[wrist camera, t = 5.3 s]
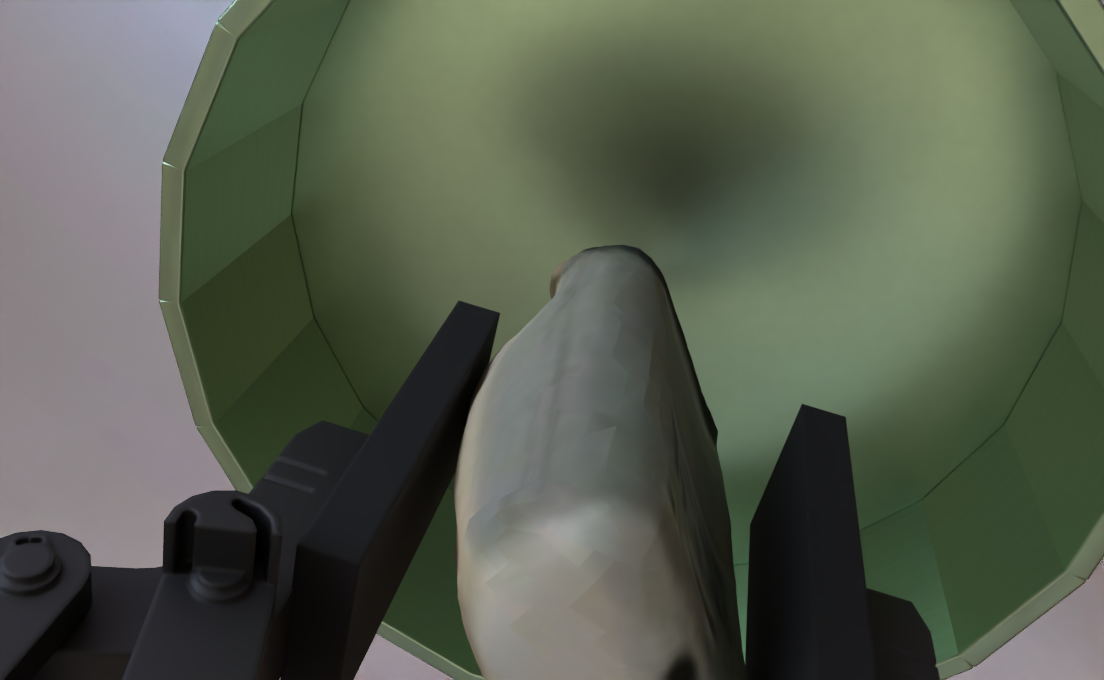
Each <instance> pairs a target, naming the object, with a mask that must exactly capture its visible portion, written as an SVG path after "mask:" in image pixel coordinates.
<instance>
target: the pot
mask: <svg viewBox="0 0 1104 680" xmlns="http://www.w3.org/2000/svg"><path fill="white" fill-rule="evenodd" d="M610 245H627V246H632V247H636V248H639V249H641V250H642V251H643V252H644V253H646V254H647V255H648V256H649V257H651V258H652V260H653V261H654V262H655V264H656V265H657V266H658V268H659V269H660V270H661V272H662V274H663V276H664V278H665V281H666V283H667V286H668V289H669V292H670V295H671V298H672V301H673V304H674V308H675V311H676V313H677V315H678V319H679V322H680V324H681V327H682V330H683V333H684V336H685V339H686V343H687V347H688V350H689V352H690V355H691V358H692V361H693V365H694V368H695V371H696V374H697V378H698V381H699V384H700V387H701V391H702V394H703V396H704V398H705V401H706V404H707V406H708V408H709V410H710V412H711V415H712V417H713V420H714V423H715V425H716V427H717V430H718V438H717V452H718V456H719V461H720V466H721V469H722V474H723V480H724V487H725V494H726V500H727V505H728V510H729V515H730V520H731V540H732V552H733V563H734V574H735V580H736V594H737V606H738V615H739V623H740V631H741V639H742V651H743V656H744V662H745V654H746V625H747V597H748V568H749V539H750V523H751V521H752V518H753V516H754V514H755V512H756V509H757V507H758V505H759V502H760V500H761V498H762V495H763V493H764V491H765V488H766V486H767V484H768V481H769V479H770V477H771V474H772V472H773V470H774V467H775V465H776V463H777V460H778V458H779V456H780V453H781V451H782V449H783V446H784V444H785V442H786V439H787V437H788V435H789V432H790V430H791V428H792V425H793V423H794V421H795V418H796V416H797V414H798V412H799V409H800V407H801V405H802V404H805V405H808V406H811V407H815V408H818V409H821V410H825V411H828V412H831V413H835V414H838V415H841V416H845V417H846V423H847V432H848V440H849V448H850V456H851V465H852V473H853V481H854V490H855V498H856V506H857V514H858V523H859V531H860V539H861V548H862V556H863V564H864V572H865V581H866V588H869V589H872V590H876V591H879V592H882V593H885V594H888V595H892V596H895V597H898V598H901V599H904V600H908V601H911V602H912V603H913V605H914V606H915V608H916V609H917V611H918V613H919V614H920V616H921V617H922V619H923V621H924V622H925V624H926V625H927V627H928V628H929V630H930V632H931V636H932V641H933V646H934V651H935V656H936V661H937V662H936V665H935V666H936V667H937V668H938V672H939V677H940V680H945V679H947V678H950V677H952V676H955V675H957V674H960V673H962V672H965V671H967V670H970V669H972V668H973V666H974V667H975V666H977V665H978V664H980V663H981V662H982V661H984V660H985V659H986V658H988V657H989V656H990V655H991V654H993V653H994V652H995V651H997V650H998V649H999V648H1001V647H1002V646H1003V645H1004V644H1006V643H1007V642H1008V641H1010V640H1011V639H1012V638H1014V637H1015V636H1016V635H1017V634H1019V633H1020V632H1021V631H1023V630H1024V629H1025V628H1027V627H1028V626H1029V625H1030V624H1032V623H1033V622H1034V621H1036V620H1037V619H1038V618H1040V617H1041V616H1042V615H1043V614H1045V613H1046V612H1047V611H1049V610H1050V609H1051V608H1053V607H1054V606H1055V605H1056V604H1058V603H1059V602H1060V601H1062V600H1063V599H1064V598H1065V597H1067V596H1068V595H1069V594H1071V593H1072V592H1073V591H1075V590H1076V589H1077V588H1078V587H1080V586H1081V585H1082V584H1084V583H1085V581H1086V580H1087V579H1089V577H1090V576H1091V574H1092V573H1093V571H1094V570H1095V568H1096V567H1097V566H1098V564H1099V563H1100V561H1101V560H1102V558H1103V557H1104V5H1103V3H1102V2H1101V0H234V1H233V3H232V4H231V5H230V6H229V7H228V8H227V9H226V10H225V11H224V13H223V14H222V15H221V16H220V17H219V19H218V21H217V22H216V24H215V26H214V29H213V31H212V34H211V36H210V39H209V42H208V44H207V47H206V49H205V52H204V55H203V57H202V60H201V62H200V65H199V67H198V70H197V73H196V75H195V78H194V80H193V83H192V86H191V88H190V91H189V93H188V96H187V98H186V101H185V104H184V106H183V109H182V111H181V114H180V117H179V119H178V122H177V124H176V127H175V129H174V132H173V135H172V137H171V140H170V142H169V145H168V148H167V150H166V153H165V155H164V158H163V163H162V191H161V229H160V268H159V299H160V301H159V303H160V306H161V310H162V313H163V317H164V320H165V323H166V327H167V330H168V334H169V337H170V340H171V344H172V347H173V351H174V354H175V357H176V361H177V364H178V368H179V371H180V374H181V378H182V381H183V385H184V388H185V391H186V395H187V398H188V402H189V405H190V408H191V412H192V415H193V419H194V422H195V425H196V426H197V429H198V431H199V432H200V434H201V435H202V437H203V439H204V440H205V442H206V443H207V445H208V447H209V448H210V450H211V451H212V453H213V454H214V456H215V458H216V459H217V461H218V462H219V464H220V466H221V467H222V469H223V470H224V472H225V473H226V475H227V477H228V478H229V480H230V481H231V483H232V485H233V486H234V488H235V489H236V491H240V492H243V493H247V494H249V493H250V491H251V490H252V489H253V487H254V486H255V485H256V484H257V482H258V481H259V480H260V479H261V478H263V477H264V473H265V472H266V471H267V470H268V468H269V467H270V466H271V465H272V463H273V462H274V461H277V459H278V456H279V454H280V453H281V452H282V451H283V449H284V448H285V447H286V445H287V444H288V443H289V442H290V440H291V439H292V438H293V437H294V435H295V434H297V433H299V432H301V431H303V430H305V429H307V428H309V427H311V426H312V425H314V424H316V423H318V422H320V421H322V420H324V421H327V422H330V423H333V424H337V425H340V426H343V427H346V428H349V429H353V430H356V431H359V432H362V433H365V434H369V435H370V433H371V432H372V430H373V429H374V427H375V426H376V424H377V423H378V421H379V420H380V418H381V417H382V415H383V414H384V412H385V411H386V409H387V408H388V406H389V405H390V403H391V402H392V400H393V399H394V397H395V396H396V394H397V393H398V391H399V390H400V388H401V387H402V385H403V384H404V382H405V381H406V379H407V378H408V376H409V374H410V373H411V371H412V370H413V368H414V367H415V365H416V364H417V362H418V361H419V359H420V358H421V356H422V355H423V353H424V352H425V350H426V349H427V347H428V346H429V344H430V343H431V341H432V340H433V338H434V337H435V335H436V334H437V332H438V331H439V329H440V328H441V326H442V325H443V323H444V322H445V320H446V319H447V317H448V316H449V314H450V313H451V311H452V310H453V308H454V307H455V305H456V304H457V302H458V301H462V302H466V303H469V304H472V305H476V306H479V307H482V308H486V309H489V310H492V311H496V312H499V313H500V317H499V321H498V326H497V330H496V335H495V339H494V343H493V348H492V352H491V357H490V361H489V363H490V362H491V361H492V359H493V358H494V357H495V355H496V354H497V353H498V352H499V351H500V349H501V348H502V347H503V346H504V345H505V344H506V343H507V342H508V341H509V340H510V339H512V338H513V337H514V336H516V335H517V334H518V333H519V332H520V331H521V330H522V329H523V328H524V327H525V326H526V325H527V324H528V323H529V322H530V321H531V320H532V319H533V318H534V317H535V316H536V315H537V314H538V313H539V312H540V311H541V310H542V308H543V307H544V306H545V305H546V304H547V303H548V302H549V301H550V300H551V296H550V281H551V276H552V274H553V272H554V270H555V268H556V266H557V265H558V264H559V263H561V262H564V261H566V260H568V259H569V258H570V257H572V256H574V255H576V254H577V253H579V252H581V251H583V250H584V249H588V248H592V247H602V246H610ZM454 477H455V474H454V476H453V478H452V480H451V482H450V484H449V486H448V488H447V490H446V492H445V494H444V496H443V498H442V500H441V502H440V504H439V506H438V508H437V510H436V513H435V515H434V517H433V519H432V521H431V523H430V525H429V527H428V529H427V531H426V533H425V535H424V537H423V539H422V541H421V543H420V545H419V547H418V549H417V551H416V553H415V555H414V557H413V559H412V561H411V563H410V565H409V567H408V569H407V571H406V574H405V576H404V578H403V580H402V582H401V584H400V586H399V588H398V590H397V592H396V594H395V596H394V598H393V600H392V602H391V604H390V606H389V608H388V610H387V612H386V614H385V616H384V618H383V620H382V622H381V624H380V626H379V628H378V630H377V633H376V634H378V635H380V636H381V637H383V638H385V639H386V640H388V641H390V642H392V643H393V644H395V645H397V646H398V647H400V648H402V649H404V650H405V651H407V652H409V653H410V654H412V655H414V656H416V657H417V658H419V659H421V660H422V661H424V662H426V663H428V664H429V665H431V666H433V667H434V668H436V669H438V670H439V671H441V672H443V673H445V674H446V675H448V676H450V677H451V678H453V679H455V680H484V678H483V676H482V673H481V671H480V669H479V666H478V664H477V662H476V659H475V656H474V654H473V651H472V649H471V646H470V643H469V640H468V638H467V635H466V632H465V629H464V625H463V622H462V616H461V609H460V605H459V601H458V587H457V571H456V566H455V561H454V560H455V539H456V528H457V526H456V512H455V507H454V499H453V496H452V491H453V483H454Z"/></svg>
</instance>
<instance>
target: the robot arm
mask: <svg viewBox="0 0 1104 680" xmlns="http://www.w3.org/2000/svg"><path fill="white" fill-rule="evenodd" d="M499 317H500V313H499V312H496V311H492V310H489V309H486V308H482V307H479V306H476V305H472V304H469V303H466V302H462V301H458V302H457V304H456V305H455V307H454V308H453V310H452V311H451V313H450V314H449V316H448V317H447V319H446V320H445V322H444V323H443V325H442V326H441V328H440V329H439V331H438V332H437V334H436V335H435V337H434V338H433V340H432V341H431V343H430V344H429V346H428V347H427V349H426V350H425V352H424V353H423V355H422V356H421V358H420V359H419V361H418V362H417V364H416V365H415V367H414V368H413V370H412V371H411V373H410V374H409V376H408V378H407V379H406V381H405V382H404V384H403V385H402V387H401V388H400V390H399V391H398V393H397V394H396V396H395V397H394V399H393V400H392V402H391V403H390V405H389V406H388V408H387V409H386V411H385V412H384V414H383V415H382V417H381V418H380V420H379V421H378V423H377V424H376V426H375V427H374V429H373V430H372V432H371V433H370V435H369V434H365V433H362V432H359V431H356V430H353V429H349V428H346V427H343V426H340V425H337V424H333V423H330V422H327V421H324V420H322V421H320V422H318V423H316V424H314V425H312V426H311V427H309V428H307V429H305V430H303V431H301V432H299V433H297V434H295V435H294V437H293V438H292V439H291V440H290V442H289V443H288V444H287V445H286V447H285V448H284V449H283V451H282V452H281V453H280V454H279V456H278V459H277V461H274V462H273V463H272V465H271V466H270V467H269V468H268V470H267V471H266V472H265V473H264V477H263V478H261V479H260V480H259V481H258V482H257V484H256V485H255V486H254V487H253V489H252V490H251V491H250V493H249V494H247V493H243V492H240V491H210V492H207V493H203V494H199V495H195V496H192V497H190V498H188V499H187V500H185V501H183V502H182V503H180V504H178V505H177V506H175V507H174V508H173V510H172V511H171V512H170V514H169V515H168V517H167V518H166V519H165V521H164V543H163V566H162V567H157V568H138V569H134V568H116V567H98V566H91V556H90V554H89V553H88V551H87V550H86V549H85V547H84V546H83V545H82V543H81V542H79V541H77V540H75V539H73V538H71V537H69V536H67V535H65V534H63V533H56V532H50V531H43V530H38V531H29V532H19V533H14V534H11V535H9V536H6V537H3V538H0V680H279V679H280V677H281V679H280V680H353V679H354V677H355V675H356V673H357V671H358V669H359V667H360V665H361V663H362V661H363V659H364V657H365V655H366V653H367V651H368V649H369V647H370V645H371V643H372V641H373V639H374V637H375V635H376V633H377V630H378V628H379V626H380V624H381V622H382V620H383V618H384V616H385V614H386V612H387V610H388V608H389V606H390V604H391V602H392V600H393V598H394V596H395V594H396V592H397V590H398V588H399V586H400V584H401V582H402V580H403V578H404V576H405V574H406V571H407V569H408V567H409V565H410V563H411V561H412V559H413V557H414V555H415V553H416V551H417V549H418V547H419V545H420V543H421V541H422V539H423V537H424V535H425V533H426V531H427V529H428V527H429V525H430V523H431V521H432V519H433V517H434V515H435V513H436V510H437V508H438V506H439V504H440V502H441V500H442V498H443V496H444V494H445V492H446V490H447V488H448V486H449V484H450V482H451V480H452V478H453V476H454V474H455V471H456V465H457V459H458V454H459V449H460V445H461V441H462V437H463V433H464V429H465V426H466V422H467V415H468V410H469V405H470V400H471V397H472V394H473V391H474V389H475V387H476V385H477V384H478V382H479V380H480V378H481V376H482V374H483V373H484V371H485V369H486V368H487V366H488V365H489V361H490V357H491V352H492V348H493V343H494V339H495V335H496V330H497V326H498V321H499ZM936 662H937V661H936V656H935V651H934V646H933V641H932V636H931V632H930V630H929V628H928V627H927V625H926V624H925V622H924V621H923V619H922V617H921V616H920V614H919V613H918V611H917V609H916V608H915V606H914V605H913V603H912V602H911V601H908V600H904V599H901V598H898V597H895V596H892V595H888V594H885V593H882V592H879V591H876V590H872V589H869V588H866V581H865V572H864V564H863V556H862V548H861V539H860V531H859V523H858V514H857V506H856V498H855V490H854V481H853V473H852V465H851V456H850V448H849V440H848V432H847V423H846V417H845V416H841V415H838V414H835V413H831V412H828V411H825V410H821V409H818V408H815V407H811V406H808V405H805V404H802V405H801V407H800V409H799V412H798V414H797V416H796V418H795V421H794V423H793V425H792V428H791V430H790V432H789V435H788V437H787V439H786V442H785V444H784V446H783V449H782V451H781V453H780V456H779V458H778V460H777V463H776V465H775V467H774V470H773V472H772V474H771V477H770V479H769V481H768V484H767V486H766V488H765V491H764V493H763V495H762V498H761V500H760V502H759V505H758V507H757V509H756V512H755V514H754V516H753V518H752V521H751V523H750V539H749V568H748V597H747V625H746V654H745V667H746V671H747V675H748V680H940V677H939V672H938V668H937V667H936V666H935V665H936Z"/></svg>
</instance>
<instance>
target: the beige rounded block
mask: <svg viewBox="0 0 1104 680" xmlns="http://www.w3.org/2000/svg"><path fill="white" fill-rule="evenodd" d="M550 296H551V300H550V301H549V302H548V303H547V304H546V305H545V306H544V307H543V308H542V310H541V311H540V312H539V313H538V314H537V315H536V316H535V317H534V318H533V319H532V320H531V321H530V322H529V323H528V324H527V325H526V326H525V327H524V328H523V329H522V330H521V331H520V332H519V333H518V334H517V335H516V336H514V337H513V338H512V339H510V340H509V341H508V342H507V343H506V344H505V345H504V346H503V347H502V348H501V349H500V351H499V352H498V353H497V354H496V355H495V357H494V358H493V359H492V361H491V362H490V363H489V365H488V366H487V368H486V369H485V371H484V373H483V374H482V376H481V378H480V380H479V382H478V384H477V385H476V387H475V389H474V391H473V394H472V397H471V400H470V405H469V410H468V415H467V422H466V426H465V429H464V433H463V437H462V441H461V445H460V449H459V454H458V459H457V465H456V471H455V477H454V483H453V491H452V496H453V499H454V507H455V512H456V526H457V528H456V539H455V560H454V561H455V566H456V571H457V587H458V601H459V605H460V609H461V616H462V622H463V625H464V629H465V632H466V635H467V638H468V640H469V643H470V646H471V649H472V651H473V654H474V656H475V659H476V662H477V664H478V666H479V669H480V671H481V673H482V676H483V678H484V680H748V675H747V671H746V667H745V662H744V656H743V651H742V639H741V631H740V623H739V615H738V606H737V594H736V580H735V574H734V563H733V552H732V540H731V520H730V515H729V510H728V505H727V500H726V494H725V487H724V480H723V474H722V469H721V466H720V461H719V456H718V452H717V438H718V430H717V427H716V425H715V423H714V420H713V417H712V415H711V412H710V410H709V408H708V406H707V404H706V401H705V398H704V396H703V394H702V391H701V387H700V384H699V381H698V378H697V374H696V371H695V368H694V365H693V361H692V358H691V355H690V352H689V350H688V347H687V343H686V339H685V336H684V333H683V330H682V327H681V324H680V322H679V319H678V315H677V313H676V311H675V308H674V304H673V301H672V298H671V295H670V292H669V289H668V286H667V283H666V281H665V278H664V276H663V274H662V272H661V270H660V269H659V268H658V266H657V265H656V264H655V262H654V261H653V260H652V258H651V257H649V256H648V255H647V254H646V253H644V252H643V251H642V250H641V249H639V248H636V247H632V246H627V245H610V246H602V247H592V248H588V249H584V250H583V251H581V252H579V253H577V254H576V255H574V256H572V257H570V258H569V259H568V260H566V261H564V262H561V263H559V264H558V265H557V266H556V268H555V270H554V272H553V274H552V276H551V281H550Z"/></svg>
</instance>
